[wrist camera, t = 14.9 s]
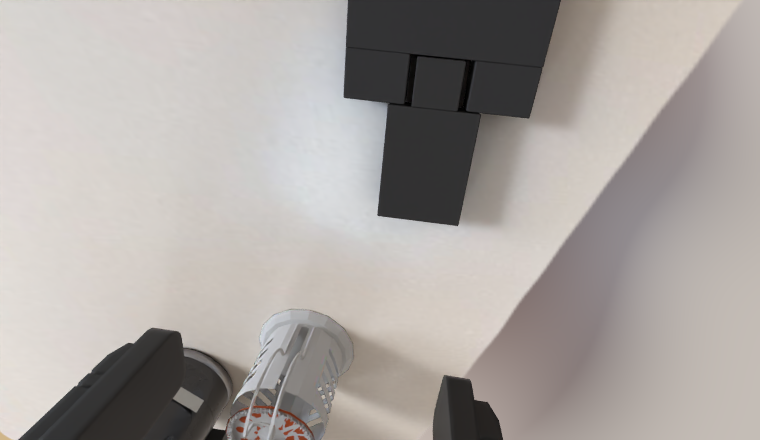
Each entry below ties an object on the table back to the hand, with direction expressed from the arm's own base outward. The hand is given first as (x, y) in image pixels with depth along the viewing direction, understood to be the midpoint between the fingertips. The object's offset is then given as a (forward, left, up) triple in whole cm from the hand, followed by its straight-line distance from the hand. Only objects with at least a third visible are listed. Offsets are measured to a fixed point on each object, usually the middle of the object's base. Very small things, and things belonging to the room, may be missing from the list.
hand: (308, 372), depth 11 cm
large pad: (+11, -4, -19) cm, 22 cm away
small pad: (+3, -3, -19) cm, 20 cm away
